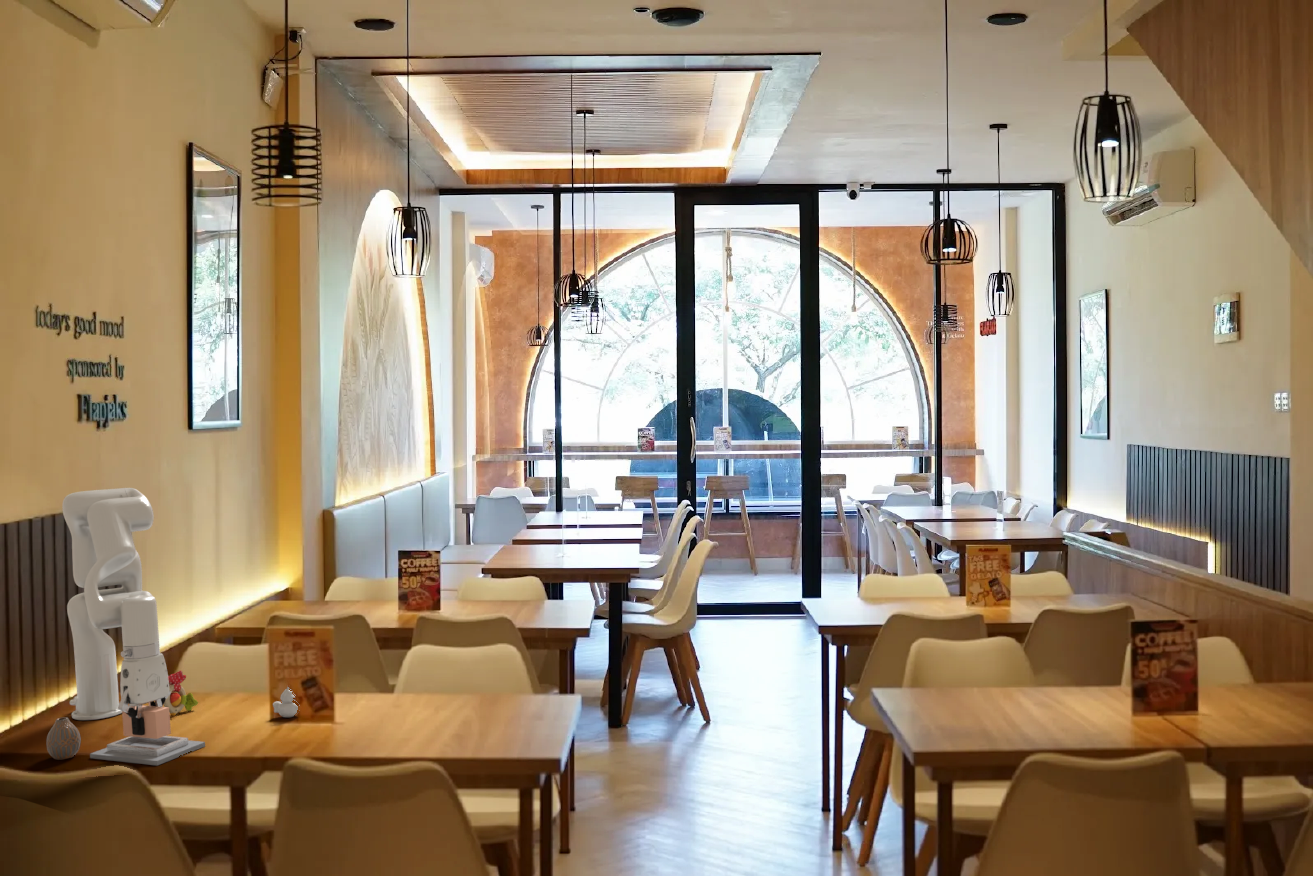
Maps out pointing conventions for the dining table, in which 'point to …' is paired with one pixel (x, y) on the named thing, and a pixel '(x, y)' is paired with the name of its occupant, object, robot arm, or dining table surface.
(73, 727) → the vase
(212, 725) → the dining table surface
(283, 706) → the rubber duck
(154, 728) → the keyed block
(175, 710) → the bird rattle
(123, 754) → the board
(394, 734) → the dining table surface
